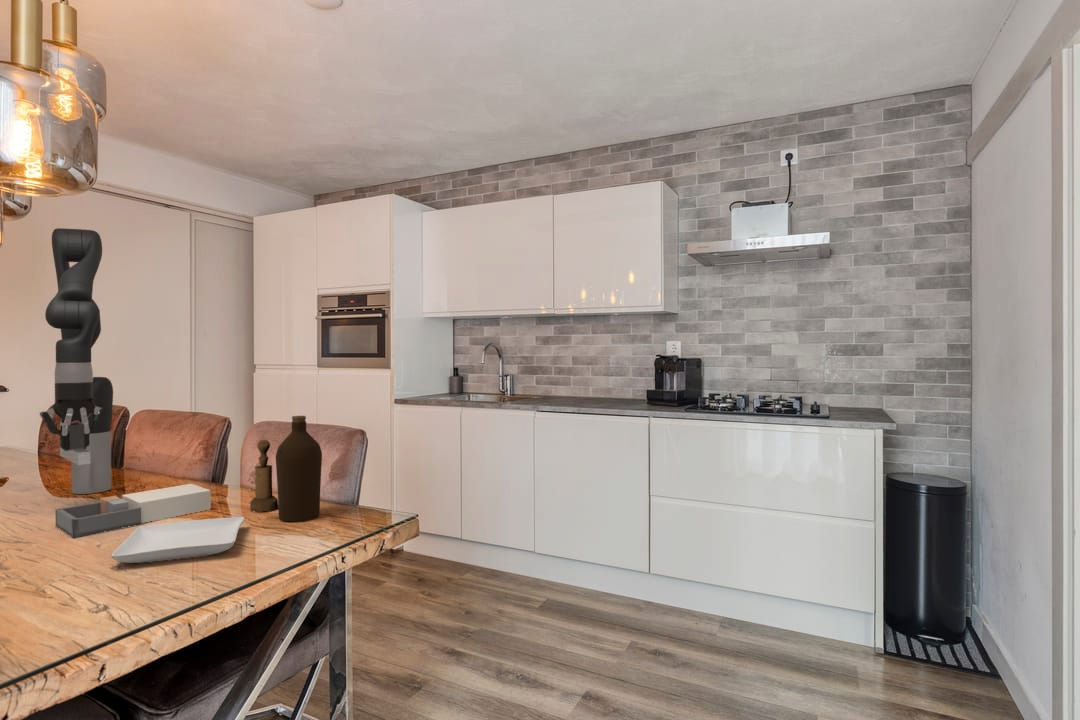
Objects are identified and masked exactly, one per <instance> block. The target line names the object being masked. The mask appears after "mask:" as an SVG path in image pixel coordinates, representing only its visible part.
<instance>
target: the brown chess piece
mask: <svg viewBox="0 0 1080 720" xmlns="http://www.w3.org/2000/svg"><path fill="white" fill-rule="evenodd" d="M256 444H257V445H256V447H257V449H258V451H259V452H260V456H258V462H259V465H257V466H255V468H254V470H255V471H254V473H255V477H254V479H255V480H254V481H255V497H253V499H251V500H250V502H249V504H250V505H249V508H250V512H252V511H255V512H254V513H263V512H262V511H268V512H270V511H269V510H272V511H274V510H273V509H275V508H277V507H278V497H276V496H274V495H273V465H271V464H268V462H269V461H268V460H269V456H268V455H267V453H268V451H269V449H270V447H271V444H270V441H269V440H268V439H260V440H259V441H257V443H256ZM277 509H278V508H277ZM275 510H276V509H275Z"/></svg>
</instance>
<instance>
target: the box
mask: <svg viewBox="0 0 1080 720" xmlns="http://www.w3.org/2000/svg"><path fill="white" fill-rule="evenodd" d="M119 498H120V497H119ZM120 499H122V497H121V498H120ZM140 524H141V508H140V507H138V508H132V509H126V510H121V511H115V512H110V513H104V514H101V508H100V501H97V502H91V503H85V504H78V505H75V506H74V505H73V506H68V507H62V508H55V527H56V526H57V527H58V528H57V527H56V528H57V529H59V528H60V529H61V530H60V529H59V530H60V531H62V530H63V531H64V533H65V532H66V533H67V534H66V533H65V534H66V535H68V536H69V535H70V536H71V537H70V536H69V537H70V538H71V539H77V538H76V537H78V538H82V537H87V536H92V535H96V533H97V534H102V533H105V532H104V531H107V532H110V531H109V530H112V531H115V530H114V529H117V530H119V529H118V528H122V527H127V528H129V527H128V526H132V527H135V526H134V525H137V526H141V525H142V524H141V525H140ZM122 529H123V528H122ZM63 531H62V532H63ZM101 532H102V533H101ZM91 534H92V535H91ZM81 536H82V537H81Z"/></svg>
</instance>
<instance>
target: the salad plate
mask: <svg viewBox="0 0 1080 720" xmlns="http://www.w3.org/2000/svg"><path fill="white" fill-rule="evenodd" d="M244 521H245V517H244V516H235V517H234V516H233V517H218V518H207V519H204V518H203V519H193V520H185V521H183V520H182V521H175V522H167V523H158V524H157V523H156V524H148V525H140V526H138V527H137V528H136V529H135V530H133V532H132V533H131V534H129V536H128V537H127V538H125V540H124V541H123V542H122V543H121V544H120V545H119V546H118V547H117V548H116V549H115V550H114V551H113V552H112V553H111V555H110V557H111V559H113V560H114V561H117V562H120V563H124V564H125V563H126V564H129V563H130V564H143V563H142V562H149V563H154V562H153V561H159V562H163V561H162V560H168V561H173V560H172V559H177V560H180V559H179V558H186V559H190V558H189V557H194V558H199V557H198V556H203V557H207V556H206V555H210V556H214V555H213V554H215V555H217V554H220V553H222V552H225V551H227V550H229V549H231V548H232V547H233V546H234V544H235V543H236V540H237V537H238V532H239V530H240V529H241V526H242V525H243V523H244Z"/></svg>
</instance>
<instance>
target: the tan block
mask: <svg viewBox="0 0 1080 720" xmlns="http://www.w3.org/2000/svg"><path fill="white" fill-rule="evenodd" d="M99 499H100V500H99V502H100V508H101V514H104V513H107V501H113V500H119V499H120V497H119V496H116V495H112V496H107V497H105V496H104V497H100V498H99Z"/></svg>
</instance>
